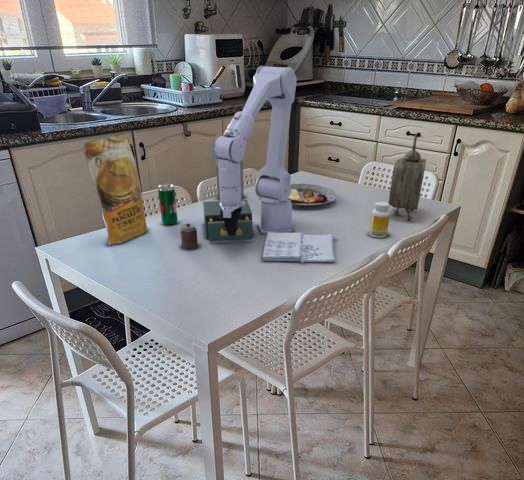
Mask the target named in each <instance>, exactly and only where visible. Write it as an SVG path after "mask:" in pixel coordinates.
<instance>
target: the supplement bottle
mask: <svg viewBox="0 0 524 480" xmlns="http://www.w3.org/2000/svg"><path fill="white" fill-rule="evenodd" d="M389 209H390V204H389V202H387V201H377V202H375V204H374V209H373V210H372V211H371V217H370V223H369V231H368V233H369V236H371V237H372V238H378V239H381V238H382V239H383V238H385V237H387V235H388V231H389V225H390V218H391V211H390V210H389Z"/></svg>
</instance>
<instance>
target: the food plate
mask: <svg viewBox="0 0 524 480" xmlns="http://www.w3.org/2000/svg"><path fill="white" fill-rule="evenodd" d="M290 184H291V193H290V196H289V198H288V199H287V200H291V204H292V206H302V207H303V206H304V207H315V206H321V205H329V204H332V203H334V202H336V201H337V199H338V197H337V194H336V192H335V190H334V189H333V188H329V187H325V186H322V185H319V184H311V183H290Z"/></svg>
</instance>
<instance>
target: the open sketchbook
mask: <svg viewBox="0 0 524 480" xmlns="http://www.w3.org/2000/svg"><path fill="white" fill-rule="evenodd" d="M334 240H336V239H335V237H334V234H303V233H302V232H278V233H277V232H273V233H272V232H267V233H266V239H265V242H264V246H263V247H264V248H263V253H262V260H263V261H264V262H301V264H305V263H334V262H335V260H336V259H335V255H334Z"/></svg>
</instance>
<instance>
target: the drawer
mask: <svg viewBox="0 0 524 480" xmlns="http://www.w3.org/2000/svg"><path fill="white" fill-rule="evenodd" d="M208 219H209V222H208V233H209V239H208V242H209V243H211V242H229V241H231V242H232V241H245V240H246V241H247V240H253V236H252V235H253V219H252V220H249V218H248V216H239V219H238V225H237V231H236V235H235V236H228V234H227V230H226V226H225V223H224V220H223V218H222V217H210V218H208Z"/></svg>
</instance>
